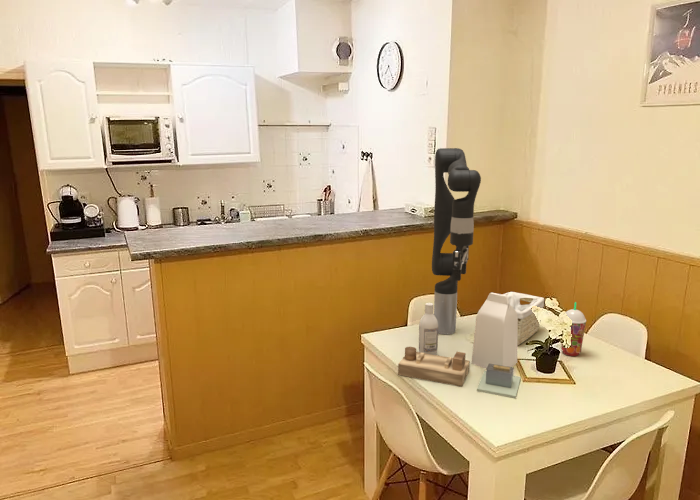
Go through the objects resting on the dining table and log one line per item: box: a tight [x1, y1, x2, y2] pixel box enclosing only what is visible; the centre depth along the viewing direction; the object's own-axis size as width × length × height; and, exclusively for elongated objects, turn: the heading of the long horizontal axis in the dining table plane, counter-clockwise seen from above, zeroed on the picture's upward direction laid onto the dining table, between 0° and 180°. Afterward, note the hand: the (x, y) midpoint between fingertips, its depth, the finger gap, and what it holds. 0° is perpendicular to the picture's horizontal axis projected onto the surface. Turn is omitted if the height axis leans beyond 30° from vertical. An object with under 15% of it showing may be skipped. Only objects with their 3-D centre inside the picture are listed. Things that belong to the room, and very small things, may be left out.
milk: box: [470, 292, 518, 369], centre depth 184 cm, size 12×12×26 cm
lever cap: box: [485, 363, 515, 388], centre depth 170 cm, size 5×8×6 cm, turn 66°
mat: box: [476, 370, 522, 399], centre depth 171 cm, size 14×12×1 cm
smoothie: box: [561, 301, 587, 357], centre depth 192 cm, size 8×8×20 cm
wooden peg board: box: [397, 346, 471, 387], centre depth 178 cm, size 12×22×8 cm, turn 66°
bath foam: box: [418, 302, 439, 355], centre depth 192 cm, size 7×7×20 cm
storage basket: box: [502, 291, 545, 346], centre depth 211 cm, size 24×16×15 cm
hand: (459, 277), depth 177 cm, fingers open, 8 cm apart
